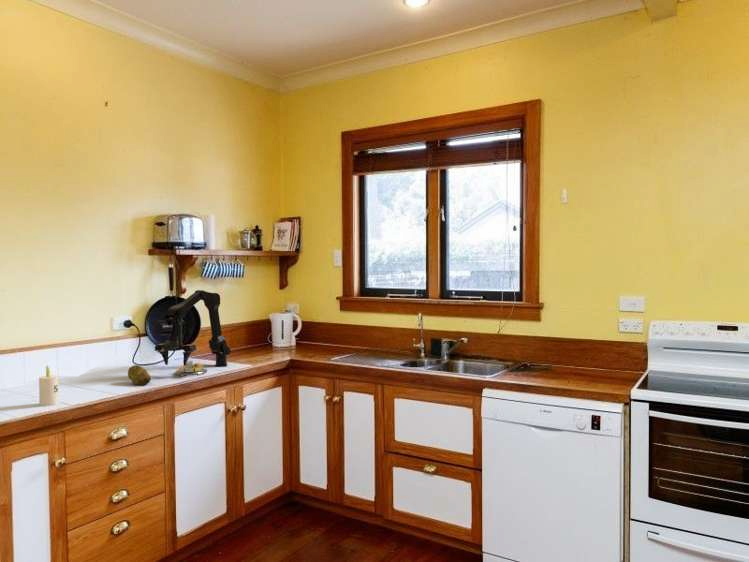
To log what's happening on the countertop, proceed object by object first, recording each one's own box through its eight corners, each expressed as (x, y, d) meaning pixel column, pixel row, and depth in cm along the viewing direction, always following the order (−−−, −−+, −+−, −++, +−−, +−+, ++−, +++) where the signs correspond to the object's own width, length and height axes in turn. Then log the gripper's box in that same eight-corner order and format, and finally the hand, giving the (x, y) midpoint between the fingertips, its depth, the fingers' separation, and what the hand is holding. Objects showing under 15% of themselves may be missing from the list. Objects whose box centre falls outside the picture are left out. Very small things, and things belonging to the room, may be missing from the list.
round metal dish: (178, 370, 289) (178, 365, 289) (208, 369, 291) (208, 364, 291) (172, 376, 274) (172, 370, 274) (204, 375, 276) (204, 369, 276)
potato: (132, 387, 250) (131, 369, 249) (126, 382, 260) (126, 365, 260) (151, 385, 254) (151, 367, 254) (145, 380, 265) (145, 363, 265)
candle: (50, 406, 216) (50, 367, 215) (35, 405, 217) (35, 366, 217) (62, 402, 222) (62, 364, 222) (47, 401, 223) (47, 363, 223)
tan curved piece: (181, 368, 287) (181, 358, 287) (204, 367, 289) (204, 358, 289) (175, 374, 270) (175, 364, 270) (199, 374, 272) (199, 364, 271)
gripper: (148, 334, 269) (148, 367, 269) (185, 335, 266) (185, 368, 266) (160, 332, 280) (160, 363, 280) (196, 333, 277) (196, 364, 278)
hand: (175, 365), depth 276 cm, fingers open, 9 cm apart
